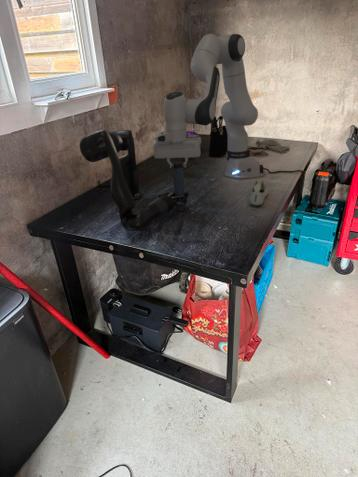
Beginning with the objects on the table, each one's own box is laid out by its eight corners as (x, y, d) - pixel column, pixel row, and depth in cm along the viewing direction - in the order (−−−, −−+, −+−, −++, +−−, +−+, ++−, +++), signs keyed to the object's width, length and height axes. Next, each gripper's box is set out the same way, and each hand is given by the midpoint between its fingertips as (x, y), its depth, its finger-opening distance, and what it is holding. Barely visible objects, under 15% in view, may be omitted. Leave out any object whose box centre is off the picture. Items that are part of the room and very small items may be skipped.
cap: (173, 169, 142) (173, 164, 141) (172, 166, 145) (172, 161, 144) (183, 168, 142) (183, 163, 141) (182, 165, 146) (181, 160, 145)
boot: (223, 139, 261) (223, 113, 251) (220, 148, 241) (220, 119, 231) (212, 139, 263) (212, 113, 253) (208, 147, 242) (208, 119, 232)
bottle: (173, 209, 153) (171, 165, 142) (178, 206, 156) (175, 162, 146) (182, 211, 151) (180, 166, 140) (186, 207, 154) (184, 163, 144)
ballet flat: (269, 188, 169) (270, 173, 165) (265, 208, 149) (266, 191, 145) (252, 187, 171) (253, 172, 167) (246, 206, 151) (247, 190, 147)
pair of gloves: (254, 158, 214) (255, 150, 211) (233, 150, 234) (233, 142, 232) (291, 151, 223) (292, 143, 221) (268, 143, 244) (269, 136, 241)
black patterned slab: (219, 158, 219) (220, 119, 206) (207, 156, 223) (207, 118, 211) (232, 150, 234) (233, 113, 221) (221, 149, 238) (221, 112, 226)
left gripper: (173, 202, 135) (195, 188, 147) (146, 195, 142) (170, 183, 154) (174, 218, 139) (196, 203, 151) (148, 211, 146) (171, 198, 158)
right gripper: (201, 132, 139) (201, 164, 146) (153, 134, 141) (156, 165, 147) (201, 136, 133) (201, 169, 140) (151, 137, 135) (154, 170, 142)
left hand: (182, 193), depth 152 cm, fingers closed on bottle, 4 cm apart
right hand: (178, 167), depth 144 cm, fingers closed on cap, 4 cm apart
